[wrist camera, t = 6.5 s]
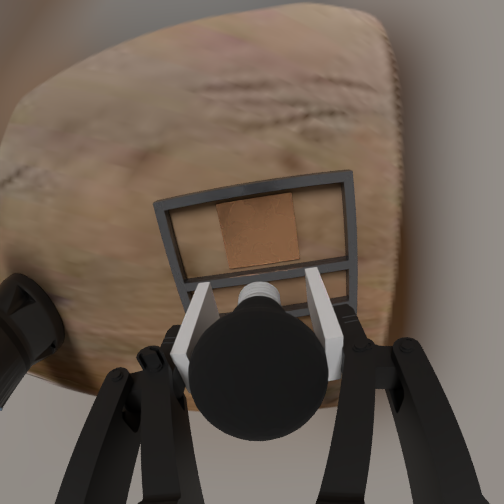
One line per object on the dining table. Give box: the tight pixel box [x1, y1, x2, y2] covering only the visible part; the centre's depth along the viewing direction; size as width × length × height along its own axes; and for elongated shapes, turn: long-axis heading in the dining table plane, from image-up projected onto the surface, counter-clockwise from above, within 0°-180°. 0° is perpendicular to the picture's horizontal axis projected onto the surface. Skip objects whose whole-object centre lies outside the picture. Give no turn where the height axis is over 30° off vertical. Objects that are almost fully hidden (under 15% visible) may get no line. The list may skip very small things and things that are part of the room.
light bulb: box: [188, 282, 329, 441], centre depth 13 cm, size 6×6×10 cm
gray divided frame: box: [153, 170, 358, 318], centre depth 31 cm, size 20×25×1 cm
